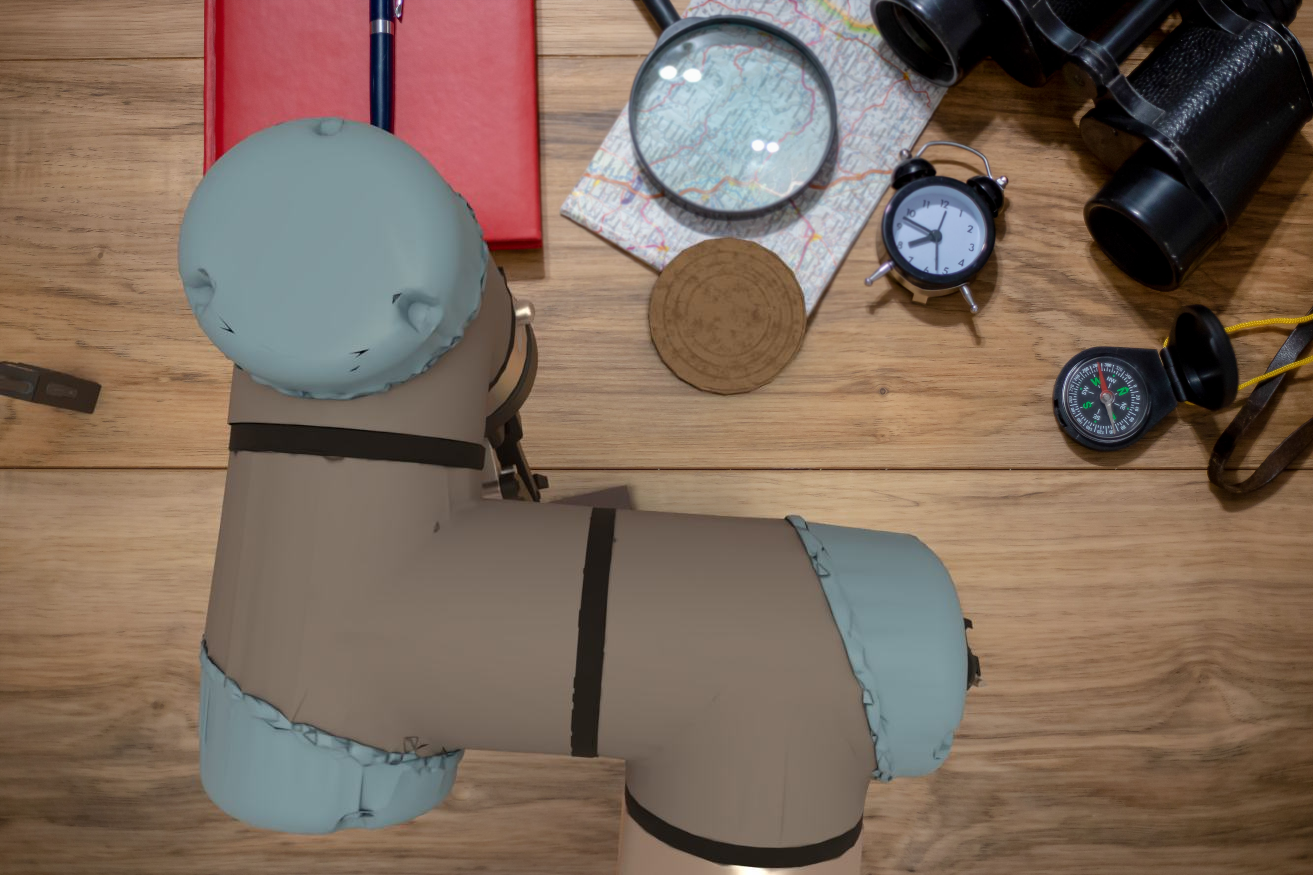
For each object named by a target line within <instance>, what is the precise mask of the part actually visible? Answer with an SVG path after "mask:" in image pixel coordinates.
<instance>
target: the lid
mask: <svg viewBox="0 0 1313 875" xmlns="http://www.w3.org/2000/svg"><path fill="white" fill-rule="evenodd" d="M545 503H554V504H566V505H578V506H591V507H596V508H615V509H627V510H633V507H632V503H631V499H630V494H629V488H628V485H627V484H624V485H620V486H615V487H611V488H610V487H609V488H606V489H601V490H596V491H592V492H588V493H582V494H579V495H574V496H573V495H572V496H569V497H564V498H560V499H556V500H551V501H546V502H545Z"/></svg>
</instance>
